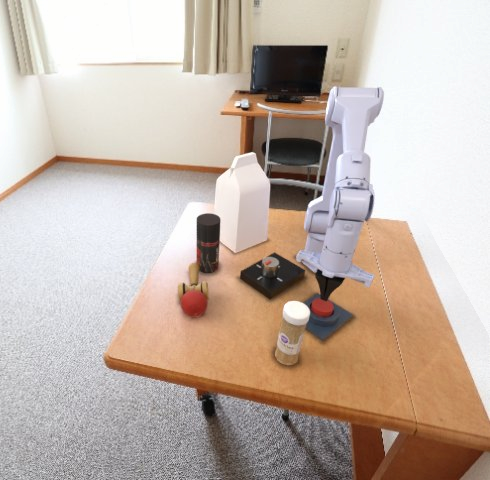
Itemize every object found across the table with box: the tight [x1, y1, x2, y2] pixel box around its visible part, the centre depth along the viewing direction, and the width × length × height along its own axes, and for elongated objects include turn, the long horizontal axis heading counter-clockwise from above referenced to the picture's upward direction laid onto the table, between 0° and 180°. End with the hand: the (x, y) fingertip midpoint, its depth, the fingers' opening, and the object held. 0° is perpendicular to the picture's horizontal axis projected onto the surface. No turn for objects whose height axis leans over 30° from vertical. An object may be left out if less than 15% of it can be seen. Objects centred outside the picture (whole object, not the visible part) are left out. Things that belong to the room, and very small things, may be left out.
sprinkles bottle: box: [274, 300, 310, 366], centre depth 66 cm, size 5×5×14 cm
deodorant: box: [196, 212, 221, 275], centre depth 91 cm, size 6×6×15 cm
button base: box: [303, 292, 354, 342], centre depth 78 cm, size 11×9×2 cm
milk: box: [213, 151, 271, 254], centre depth 99 cm, size 12×12×26 cm
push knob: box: [311, 298, 334, 317], centre depth 77 cm, size 4×4×2 cm
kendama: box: [177, 262, 210, 318], centre depth 85 cm, size 8×6×18 cm
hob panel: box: [239, 252, 306, 300], centre depth 89 cm, size 13×10×3 cm
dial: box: [261, 256, 279, 278], centre depth 87 cm, size 4×4×4 cm
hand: (324, 297), depth 75 cm, fingers closed
